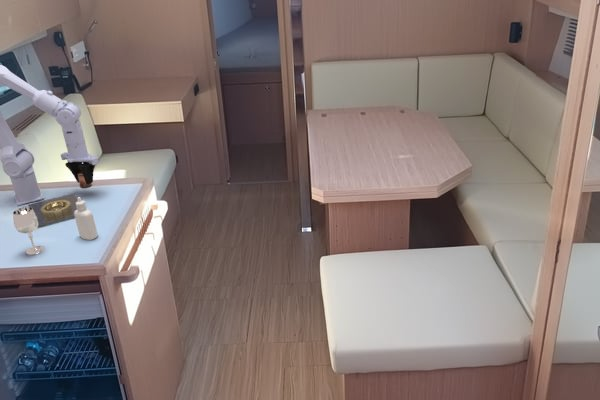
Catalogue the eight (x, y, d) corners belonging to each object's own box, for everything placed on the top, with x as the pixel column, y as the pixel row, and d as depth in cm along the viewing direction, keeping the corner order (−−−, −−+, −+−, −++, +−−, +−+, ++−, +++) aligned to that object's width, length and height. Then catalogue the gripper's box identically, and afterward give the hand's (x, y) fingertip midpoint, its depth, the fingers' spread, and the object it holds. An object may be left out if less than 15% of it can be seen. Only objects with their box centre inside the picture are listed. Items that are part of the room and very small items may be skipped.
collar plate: (28, 206, 176) (26, 200, 175) (74, 195, 182) (72, 188, 181) (36, 228, 162) (34, 221, 161) (85, 215, 168) (83, 207, 167)
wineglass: (21, 257, 147) (8, 217, 142) (25, 247, 152) (12, 208, 147) (45, 253, 148) (32, 213, 143) (47, 243, 153) (36, 204, 148)
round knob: (79, 185, 182) (75, 171, 180) (90, 183, 184) (87, 169, 182) (81, 189, 179) (78, 175, 177) (93, 186, 181) (89, 172, 179)
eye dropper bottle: (95, 230, 159) (85, 192, 153) (99, 238, 154) (89, 199, 149) (79, 234, 157) (68, 196, 152) (82, 242, 152) (72, 203, 147)
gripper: (49, 144, 175) (59, 183, 181) (82, 149, 169) (92, 190, 174) (66, 137, 181) (76, 175, 186) (99, 141, 174) (108, 181, 180)
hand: (85, 182), depth 181 cm, fingers closed on round knob, 4 cm apart
